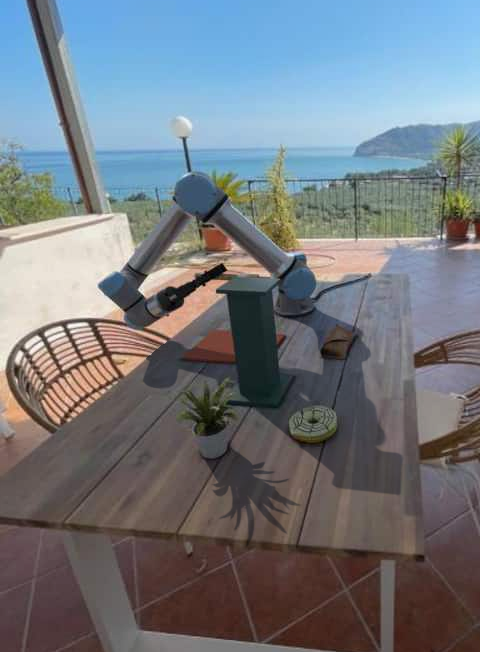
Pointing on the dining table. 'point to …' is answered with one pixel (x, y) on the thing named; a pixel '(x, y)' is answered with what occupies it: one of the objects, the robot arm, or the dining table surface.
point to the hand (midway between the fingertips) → (222, 268)
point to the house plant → (209, 420)
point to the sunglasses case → (338, 343)
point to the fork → (230, 276)
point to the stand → (255, 342)
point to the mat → (217, 348)
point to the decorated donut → (313, 424)
